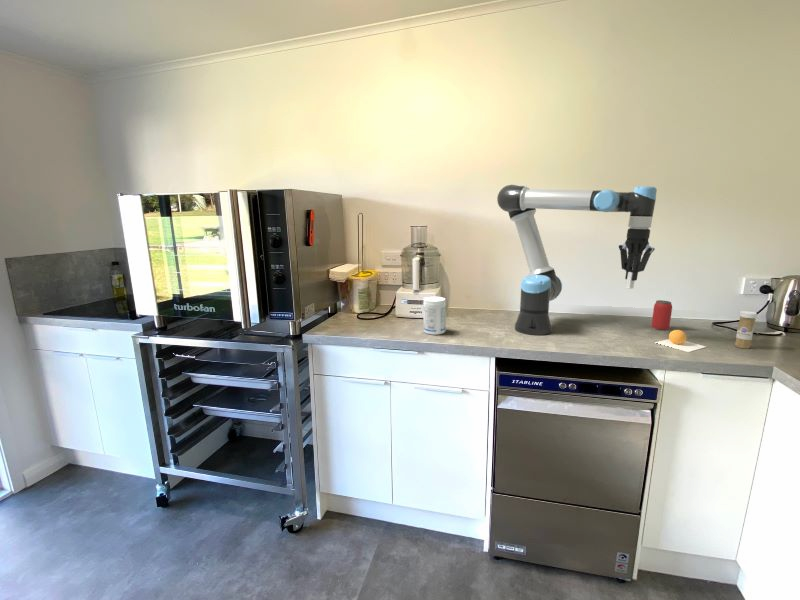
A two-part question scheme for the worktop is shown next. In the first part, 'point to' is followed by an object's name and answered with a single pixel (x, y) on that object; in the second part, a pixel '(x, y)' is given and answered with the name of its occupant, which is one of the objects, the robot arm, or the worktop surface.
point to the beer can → (662, 315)
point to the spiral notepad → (681, 345)
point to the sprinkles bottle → (745, 329)
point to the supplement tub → (434, 315)
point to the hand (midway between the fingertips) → (629, 288)
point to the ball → (677, 337)
